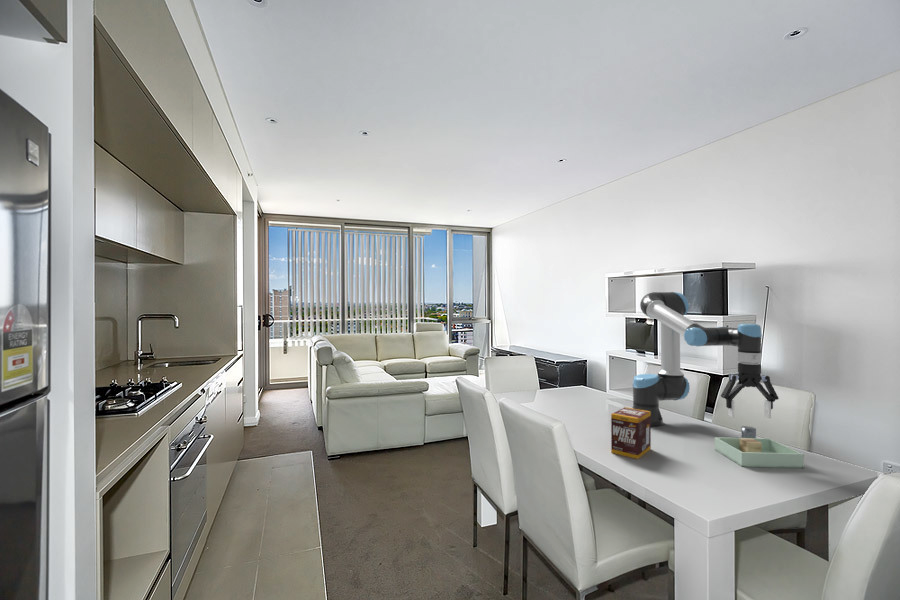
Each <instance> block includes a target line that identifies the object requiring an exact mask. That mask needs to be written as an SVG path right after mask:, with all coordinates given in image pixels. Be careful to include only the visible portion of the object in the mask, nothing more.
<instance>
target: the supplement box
mask: <svg viewBox="0 0 900 600" xmlns="http://www.w3.org/2000/svg"><path fill="white" fill-rule="evenodd" d="M610 416H611V418H610V423H611V424H610V425H611V427H610V428H611V429H610V432H611V434H610V435H611V438H610V439H611V441H610V442H611V443H610V444H611V448H610V449H611V453H612V454H614V455H615V454H616V455H619V456H623V457H626V458H631V459H636V460H639V459H640V458H641V457H643V456H644V455H646V454H647V453H648V452H649V451H651V449H652V446H651V445H652V444H651V443H652V441H651V440H652V439H651V438H652V437H651V436H652V435H651V429H652V426H651V412H650V411H645V410H639V409H634V408H632V407H622V408H621V409H619V410H617V411H615V412H613V413H611V415H610Z"/></svg>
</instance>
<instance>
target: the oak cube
mask: <svg viewBox="0 0 900 600" xmlns="http://www.w3.org/2000/svg"><path fill="white" fill-rule="evenodd" d="M739 438H740V451H741V452H757V453H762V444H761V442H759V441H757V440H755V439H744V438H742V437H739Z"/></svg>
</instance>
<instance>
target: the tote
mask: <svg viewBox="0 0 900 600" xmlns="http://www.w3.org/2000/svg"><path fill="white" fill-rule="evenodd" d="M740 438H741V437H721V436H719V437H717V436H716V437H714V451H716V452H718V453H720V454H721V455H723V456H724V457H726V458H728V459H729V460H730V461H732V462H734V464H735V463H736V464H737V465H738V466H739V467H743V468H745V467H746V468H751V467H752V468H781V469H783V468H784V469H785V468H787V469H804V467H805V466H804V465H805V463H804V462H805V461H804V460H805V459H804V458H805V457H804V456H805V454H804V453H802V452H800V451H797V450H795V449H793V448H791V447H790V446H787V445H785V444H783V443H781V442H778V441H776V440H774V439H772V438H768V437H767V438H764V437H762V438H761V437H759V438H758V437H756V438H744V439H755V440H757V441H759V442H761V444H762V453H757V452H741V451H740Z"/></svg>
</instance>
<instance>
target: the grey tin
mask: <svg viewBox="0 0 900 600" xmlns="http://www.w3.org/2000/svg"><path fill="white" fill-rule="evenodd" d="M741 438H757V428H756V427H753V426H747V425H745V426H744V425H742V426H741Z"/></svg>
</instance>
